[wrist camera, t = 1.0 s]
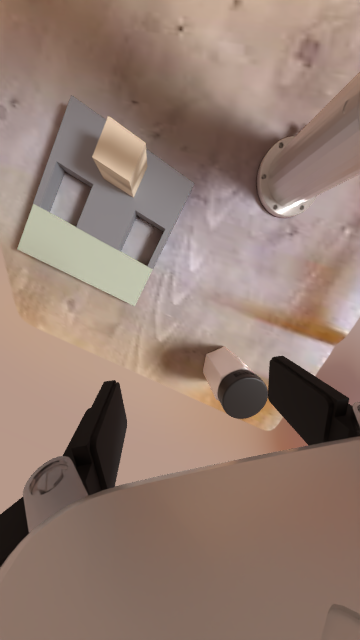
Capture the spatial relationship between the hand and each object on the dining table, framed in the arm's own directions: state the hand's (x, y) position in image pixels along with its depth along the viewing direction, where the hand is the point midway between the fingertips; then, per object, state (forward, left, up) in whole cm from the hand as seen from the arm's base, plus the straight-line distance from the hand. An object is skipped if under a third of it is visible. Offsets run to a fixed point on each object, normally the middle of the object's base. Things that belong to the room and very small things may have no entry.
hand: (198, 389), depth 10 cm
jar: (+6, +17, -26) cm, 32 cm away
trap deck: (-10, -16, -26) cm, 32 cm away
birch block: (-17, -16, -24) cm, 33 cm away
